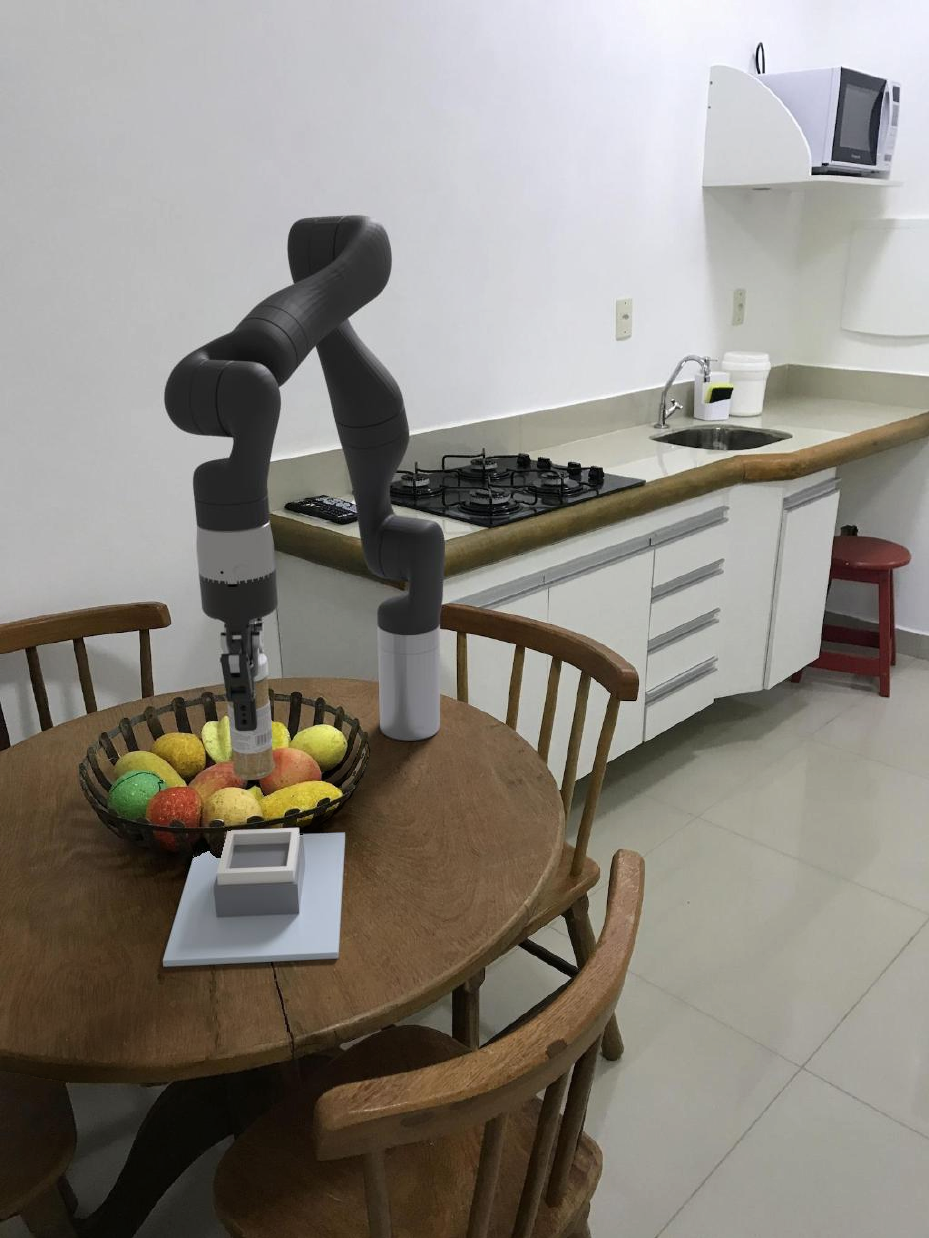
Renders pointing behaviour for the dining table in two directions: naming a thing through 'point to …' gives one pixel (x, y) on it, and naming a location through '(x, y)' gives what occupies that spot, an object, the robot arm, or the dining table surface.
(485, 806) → the dining table surface
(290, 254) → the robot arm
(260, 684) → the sprinkles bottle
